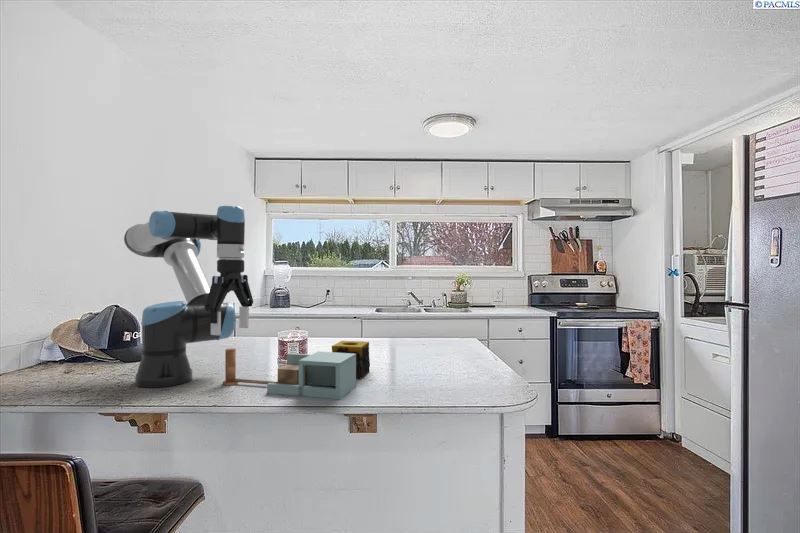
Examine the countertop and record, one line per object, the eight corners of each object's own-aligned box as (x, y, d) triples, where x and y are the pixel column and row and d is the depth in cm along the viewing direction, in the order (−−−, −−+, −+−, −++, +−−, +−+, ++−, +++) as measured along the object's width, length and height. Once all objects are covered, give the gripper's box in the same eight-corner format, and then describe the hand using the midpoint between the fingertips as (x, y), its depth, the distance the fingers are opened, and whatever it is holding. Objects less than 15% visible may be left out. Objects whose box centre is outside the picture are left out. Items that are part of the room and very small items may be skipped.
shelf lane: (267, 393, 123) (267, 358, 123) (288, 381, 135) (289, 349, 135) (339, 399, 117) (340, 363, 117) (355, 386, 130) (356, 353, 129)
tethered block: (217, 385, 130) (217, 350, 130) (230, 380, 136) (230, 347, 136) (297, 391, 124) (297, 355, 124) (306, 386, 130) (306, 351, 130)
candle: (361, 379, 137) (361, 347, 137) (330, 378, 139) (330, 345, 139) (370, 371, 147) (370, 341, 147) (341, 370, 149) (341, 340, 149)
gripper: (214, 259, 119) (214, 339, 119) (264, 259, 143) (264, 325, 144) (190, 258, 121) (190, 337, 121) (244, 259, 145) (243, 324, 145)
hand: (230, 331), depth 132 cm, fingers open, 13 cm apart
